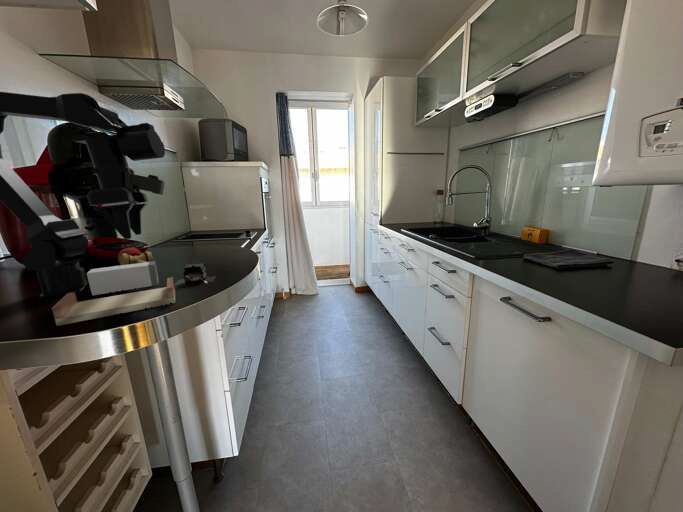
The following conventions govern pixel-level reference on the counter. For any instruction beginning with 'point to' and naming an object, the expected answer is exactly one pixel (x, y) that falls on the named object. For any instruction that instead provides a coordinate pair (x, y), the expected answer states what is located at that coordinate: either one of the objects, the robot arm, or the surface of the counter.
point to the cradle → (111, 304)
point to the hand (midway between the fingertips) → (133, 236)
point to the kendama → (134, 257)
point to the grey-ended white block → (122, 277)
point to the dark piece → (194, 280)
